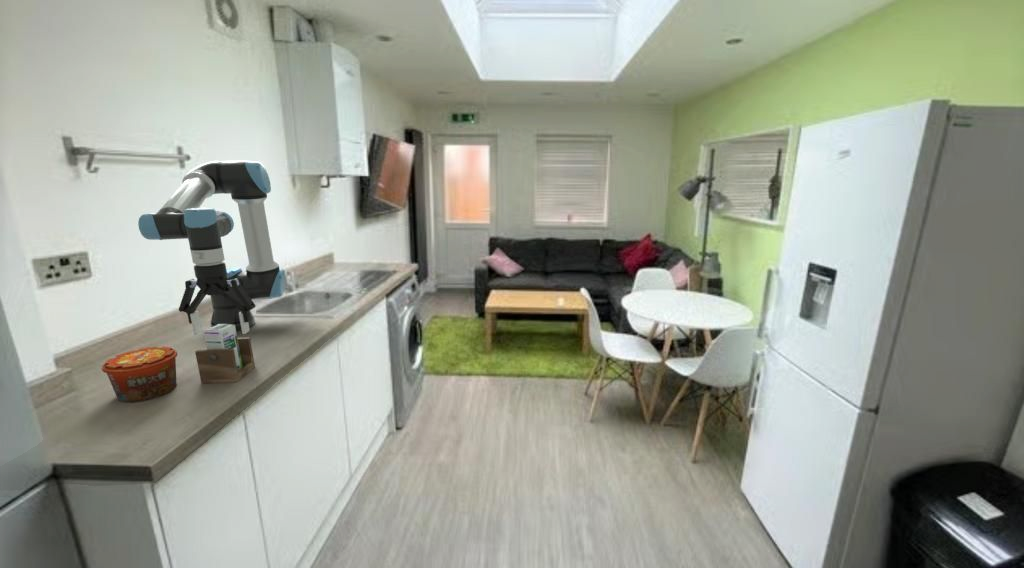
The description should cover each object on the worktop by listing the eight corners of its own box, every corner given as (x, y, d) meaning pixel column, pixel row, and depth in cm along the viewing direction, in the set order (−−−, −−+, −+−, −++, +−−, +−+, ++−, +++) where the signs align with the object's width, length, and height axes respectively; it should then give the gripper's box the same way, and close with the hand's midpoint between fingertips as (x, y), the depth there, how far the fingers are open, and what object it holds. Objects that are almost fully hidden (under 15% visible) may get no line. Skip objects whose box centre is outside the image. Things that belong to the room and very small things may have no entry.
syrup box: (229, 376, 128) (220, 330, 124) (211, 375, 128) (202, 329, 125) (243, 368, 133) (235, 323, 130) (226, 367, 134) (218, 323, 130)
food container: (180, 395, 119) (173, 359, 116) (103, 412, 111) (93, 373, 108) (186, 374, 132) (179, 341, 129) (117, 387, 124) (108, 352, 121)
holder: (223, 367, 137) (218, 337, 134) (256, 366, 137) (251, 336, 135) (199, 384, 125) (193, 352, 123) (235, 383, 126) (229, 351, 123)
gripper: (153, 266, 118) (169, 338, 124) (247, 265, 120) (259, 336, 125) (172, 261, 126) (186, 329, 131) (261, 259, 127) (271, 327, 133)
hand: (222, 332), depth 128 cm, fingers open, 13 cm apart
